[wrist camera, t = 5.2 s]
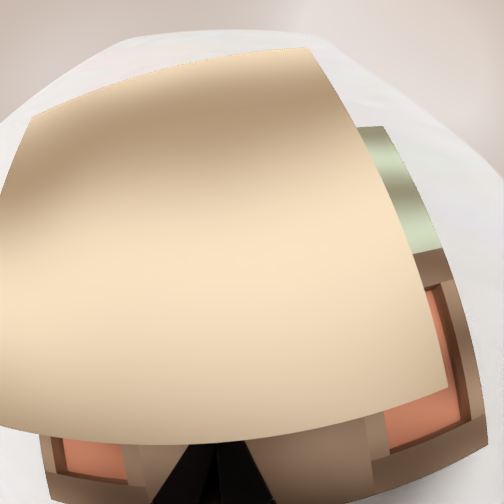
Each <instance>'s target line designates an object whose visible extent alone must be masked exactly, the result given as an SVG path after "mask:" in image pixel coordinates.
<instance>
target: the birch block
mask: <svg viewBox="0 0 504 504" xmlns="http://www.w3.org/2000/svg"><path fill="white" fill-rule="evenodd" d="M447 387H448V383H447V378H446V373H445V368H444V363H443V358H442V354H441V350H440V345H439V341H438V337H437V333H436V329H435V325H434V322H433V318H432V314H431V311H430V307H429V304H428V301H427V297H426V294H425V291H424V287H423V284H422V281H421V278H420V275H419V272H418V269H417V266H416V263H415V260H414V257H413V255H412V252H411V249H410V246H409V244H408V241H407V238H406V236H405V233H404V230H403V228H402V225H401V223H400V220H399V218H398V215H397V213H396V211H395V208H394V206H393V203H392V201H391V199H390V196H389V194H388V192H387V190H386V187H385V185H384V183H383V181H382V178H381V176H380V174H379V172H378V170H377V168H376V166H375V164H374V162H373V159H372V157H371V155H370V153H369V151H368V149H367V147H366V145H365V143H364V141H363V140H362V138H361V136H360V134H359V132H358V130H357V128H356V126H355V124H354V123H353V121H352V119H351V117H350V115H349V114H348V112H347V110H346V108H345V106H344V105H343V103H342V101H341V100H340V98H339V96H338V94H337V93H336V91H335V89H334V88H333V86H332V84H331V83H330V81H329V80H328V78H327V76H326V75H325V73H324V72H323V70H322V68H321V67H320V65H319V64H318V62H317V61H316V59H315V58H314V56H313V55H312V53H311V52H310V50H309V49H308V47H302V48H287V49H276V50H266V51H257V52H249V53H242V54H235V55H228V56H222V57H217V58H211V59H206V60H201V61H196V62H191V63H187V64H182V65H178V66H174V67H170V68H166V69H162V70H158V71H154V72H150V73H147V74H143V75H140V76H137V77H133V78H130V79H127V80H124V81H121V82H118V83H115V84H112V85H109V86H106V87H103V88H100V89H97V90H95V91H92V92H89V93H87V94H84V95H82V96H79V97H77V98H74V99H72V100H69V101H67V102H65V103H62V104H60V105H58V106H55V107H53V108H51V109H49V110H47V111H44V112H42V113H40V114H38V115H36V116H34V117H32V119H31V121H30V123H29V125H28V127H27V129H26V131H25V134H24V136H23V138H22V140H21V143H20V145H19V147H18V150H17V152H16V154H15V157H14V159H13V162H12V164H11V167H10V169H9V172H8V175H7V177H6V180H5V183H4V186H3V189H2V192H1V195H0V426H3V427H7V428H12V429H16V430H20V431H25V432H30V433H35V434H40V435H46V436H52V437H58V438H65V439H73V440H81V441H90V442H101V443H114V444H134V445H186V444H206V443H220V442H231V441H241V440H249V439H257V438H265V437H271V436H278V435H284V434H290V433H295V432H301V431H306V430H311V429H316V428H320V427H325V426H329V425H333V424H338V423H342V422H346V421H350V420H353V419H357V418H361V417H364V416H368V415H371V414H375V413H378V412H381V411H384V410H388V409H391V408H394V407H397V406H400V405H403V404H406V403H409V402H411V401H414V400H417V399H420V398H422V397H425V396H428V395H430V394H433V393H435V392H438V391H440V390H443V389H445V388H447Z"/></svg>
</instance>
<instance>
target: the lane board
mask: <svg viewBox="0 0 504 504" xmlns="http://www.w3.org/2000/svg"><path fill="white" fill-rule="evenodd" d="M357 130H358V132H359V134H360V136H361V138H362V140H363V141H364V143H365V145H366V147H367V149H368V151H369V153H370V155H371V157H372V159H373V162H374V164H375V166H376V168H377V170H378V172H379V174H380V176H381V178H382V181H383V183H384V185H385V187H386V190H387V192H388V194H389V196H390V199H391V201H392V203H393V206H394V208H395V211H396V213H397V215H398V218H399V220H400V223H401V225H402V228H403V230H404V233H405V236H406V238H407V241H408V244H409V246H410V249H411V252H412V255H413V257H414V260H415V263H416V266H417V269H418V272H419V275H420V278H421V281H422V284H423V287H424V291H425V294H426V297H427V301H428V304H429V307H430V311H431V314H432V318H433V322H434V325H435V329H436V333H437V337H438V341H439V345H440V350H441V354H442V358H443V363H444V368H445V373H446V378H447V383H448V387H447V388H445V389H443V390H440V391H438V392H435V393H433V394H430V395H428V396H425V397H422V398H420V399H417V400H414V401H411V402H409V403H406V404H403V405H400V406H397V407H394V408H391V409H388V410H384V411H381V412H378V413H375V414H371V415H368V416H364V417H361V418H357V419H353V420H350V421H346V422H342V423H338V424H333V425H329V426H325V427H320V428H316V429H311V430H306V431H301V432H295V433H290V434H284V435H278V436H271V437H265V438H257V439H249V440H245V442H246V444H247V446H248V448H249V450H250V452H251V454H252V456H253V458H254V460H255V462H256V464H257V466H258V468H259V470H260V472H261V474H262V476H263V478H264V480H265V482H266V484H267V486H268V488H269V489H270V491H271V493H272V495H273V497H274V499H275V500H276V502H277V504H345V503H349V502H352V501H356V500H360V499H363V498H366V497H370V496H373V495H376V494H379V493H382V492H385V491H388V490H391V489H394V488H397V487H399V486H402V485H405V484H407V483H410V482H413V481H415V480H418V479H420V478H422V477H425V476H427V475H429V474H432V473H434V472H436V471H438V470H441V469H443V468H445V467H447V466H449V465H451V464H453V463H455V462H457V461H459V460H461V459H463V458H465V457H467V456H469V455H470V454H472V453H474V452H476V451H478V450H479V449H481V448H483V447H485V446H486V445H488V436H487V425H486V417H485V409H484V402H483V395H482V389H481V383H480V377H479V372H478V367H477V362H476V357H475V353H474V348H473V344H472V340H471V336H470V332H469V328H468V324H467V321H466V317H465V314H464V310H463V307H462V303H461V300H460V297H459V294H458V290H457V287H456V284H455V281H454V278H453V275H452V273H451V270H450V267H449V264H448V261H447V259H446V256H445V253H444V251H443V248H442V245H441V243H440V240H439V238H438V235H437V233H436V231H435V228H434V226H433V223H432V221H431V219H430V216H429V214H428V212H427V210H426V207H425V205H424V203H423V201H422V199H421V197H420V195H419V192H418V190H417V188H416V186H415V184H414V182H413V180H412V178H411V176H410V174H409V172H408V170H407V168H406V166H405V165H404V163H403V161H402V159H401V157H400V155H399V153H398V152H397V150H396V148H395V146H394V144H393V143H392V141H391V139H390V137H389V136H388V134H387V132H386V130H385V129H384V127H383V126H375V127H358V128H357ZM39 439H40V446H41V452H42V458H43V464H44V469H45V474H46V479H47V483H48V488H49V492H50V496H51V499H52V500H55V501H59V502H62V503H66V504H150V503H152V500H153V498H154V497H155V495H156V494H157V492H158V491H159V489H160V488H161V486H162V485H163V483H164V482H165V480H166V479H167V477H168V476H169V474H170V473H171V471H172V470H173V468H174V467H175V465H176V464H177V462H178V461H179V459H180V458H181V456H182V454H183V453H184V451H185V450H186V448H187V447H188V445H189V444H186V445H134V444H114V443H101V442H90V441H81V440H73V439H65V438H58V437H52V436H46V435H40V434H39Z"/></svg>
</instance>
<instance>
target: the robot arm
mask: <svg viewBox="0 0 504 504" xmlns="http://www.w3.org/2000/svg"><path fill="white" fill-rule="evenodd" d="M150 504H277V502H276V500H275V499H274V497H273V495H272V493H271V491H270V489H269V488H268V486H267V484H266V482H265V480H264V478H263V476H262V474H261V472H260V470H259V468H258V466H257V464H256V462H255V460H254V458H253V456H252V454H251V452H250V450H249V448H248V446H247V444H246V442H245V440H241V441H231V442H220V443H206V444H189V445H188V447H187V448H186V450H185V451H184V453H183V454H182V456H181V458H180V459H179V461H178V462H177V464H176V465H175V467H174V468H173V470H172V471H171V473H170V474H169V476H168V477H167V479H166V480H165V482H164V483H163V485H162V486H161V488H160V489H159V491H158V492H157V494H156V495H155V497H154V498H153V500H152V503H150Z"/></svg>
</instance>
